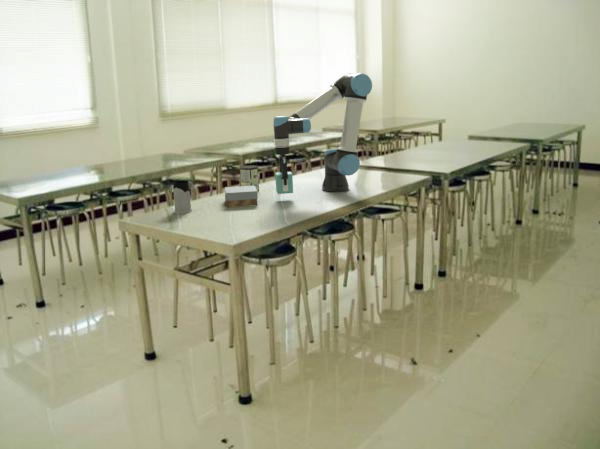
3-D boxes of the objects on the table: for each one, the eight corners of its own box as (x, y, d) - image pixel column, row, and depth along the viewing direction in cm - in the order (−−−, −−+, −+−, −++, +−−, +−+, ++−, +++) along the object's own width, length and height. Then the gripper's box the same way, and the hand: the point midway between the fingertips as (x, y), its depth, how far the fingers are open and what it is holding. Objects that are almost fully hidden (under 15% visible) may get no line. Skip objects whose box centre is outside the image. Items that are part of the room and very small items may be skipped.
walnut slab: (255, 200, 318) (254, 192, 317) (257, 206, 303) (257, 198, 302) (225, 202, 316) (224, 194, 315) (226, 208, 301) (225, 200, 300)
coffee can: (245, 188, 348) (244, 165, 344) (261, 189, 344) (260, 165, 341) (238, 192, 338) (237, 167, 335) (254, 192, 335) (253, 168, 331)
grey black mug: (170, 212, 292) (168, 182, 289) (187, 206, 305) (184, 177, 301) (185, 213, 289) (183, 183, 285) (201, 207, 302) (199, 178, 298)
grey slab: (255, 192, 317) (254, 185, 316) (257, 198, 302) (257, 191, 301) (225, 194, 315) (224, 187, 314) (226, 200, 300) (225, 193, 299)
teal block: (291, 190, 316) (290, 171, 314) (293, 192, 308) (292, 174, 306) (276, 191, 315) (275, 172, 312) (278, 194, 307) (276, 175, 305)
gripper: (272, 144, 315) (275, 186, 321) (277, 149, 295) (279, 193, 301) (286, 143, 316) (289, 185, 322) (291, 148, 296) (294, 192, 302)
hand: (284, 189), depth 311 cm, fingers closed on teal block, 8 cm apart
